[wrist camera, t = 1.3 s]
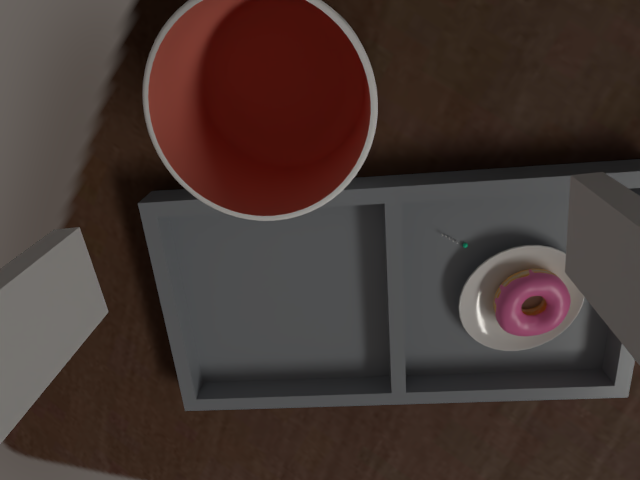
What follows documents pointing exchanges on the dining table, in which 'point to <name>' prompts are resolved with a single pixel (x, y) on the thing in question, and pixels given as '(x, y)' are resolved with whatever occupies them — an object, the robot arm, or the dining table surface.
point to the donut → (519, 298)
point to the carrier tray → (370, 294)
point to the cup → (260, 104)
